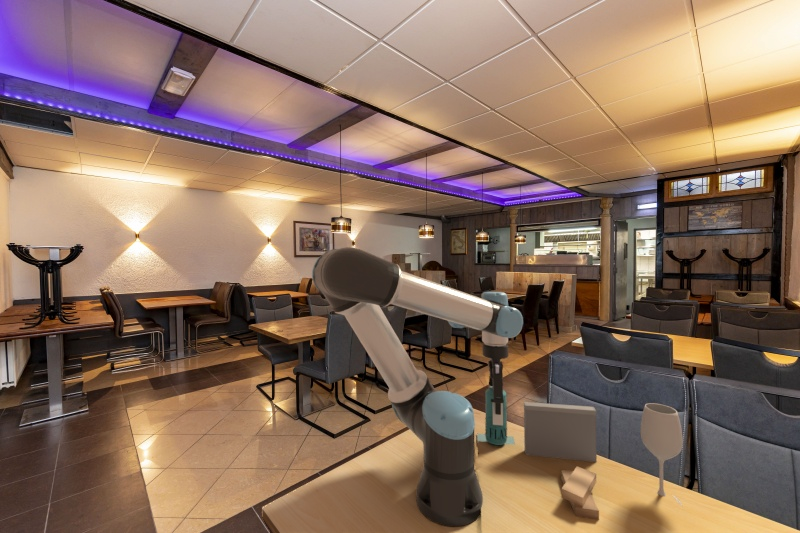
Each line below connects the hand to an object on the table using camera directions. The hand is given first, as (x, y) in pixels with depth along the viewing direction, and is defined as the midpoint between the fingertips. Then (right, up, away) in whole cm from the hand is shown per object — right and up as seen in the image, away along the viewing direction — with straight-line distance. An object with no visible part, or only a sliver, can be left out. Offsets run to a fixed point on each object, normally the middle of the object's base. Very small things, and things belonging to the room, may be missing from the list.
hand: (496, 413), depth 99 cm
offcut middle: (+12, -8, -24) cm, 28 cm away
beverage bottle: (0, -9, 0) cm, 9 cm away
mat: (0, -10, 0) cm, 10 cm away
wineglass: (+31, -10, -23) cm, 40 cm away
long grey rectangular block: (+15, -10, -8) cm, 20 cm away
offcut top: (+12, -6, -24) cm, 28 cm away
